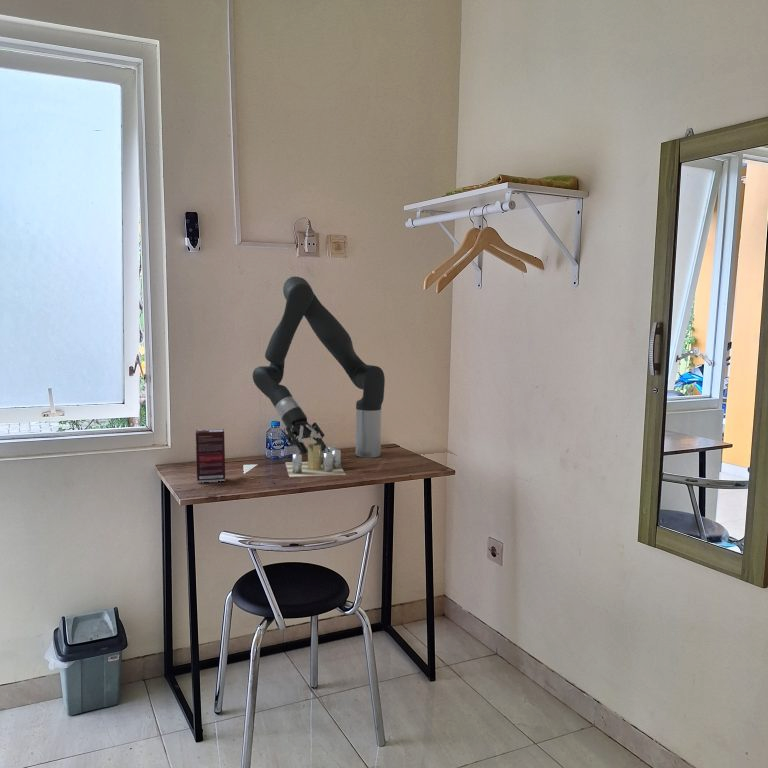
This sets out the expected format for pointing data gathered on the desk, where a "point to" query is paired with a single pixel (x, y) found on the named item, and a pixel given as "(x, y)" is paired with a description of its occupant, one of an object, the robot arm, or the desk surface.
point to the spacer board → (311, 471)
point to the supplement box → (210, 455)
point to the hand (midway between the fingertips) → (315, 451)
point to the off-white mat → (248, 467)
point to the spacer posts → (328, 459)
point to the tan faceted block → (314, 456)
